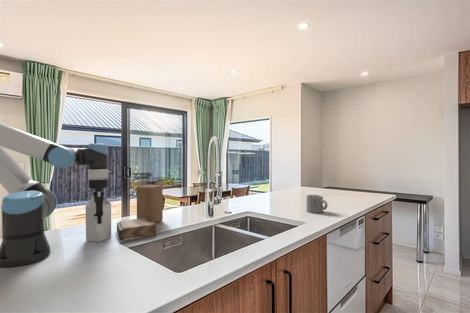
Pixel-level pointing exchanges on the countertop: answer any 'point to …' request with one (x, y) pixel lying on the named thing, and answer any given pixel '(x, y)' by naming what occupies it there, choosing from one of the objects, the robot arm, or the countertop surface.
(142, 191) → the wooden block
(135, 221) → the block
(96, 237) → the milk carton
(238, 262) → the countertop surface
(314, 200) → the coffee mug
